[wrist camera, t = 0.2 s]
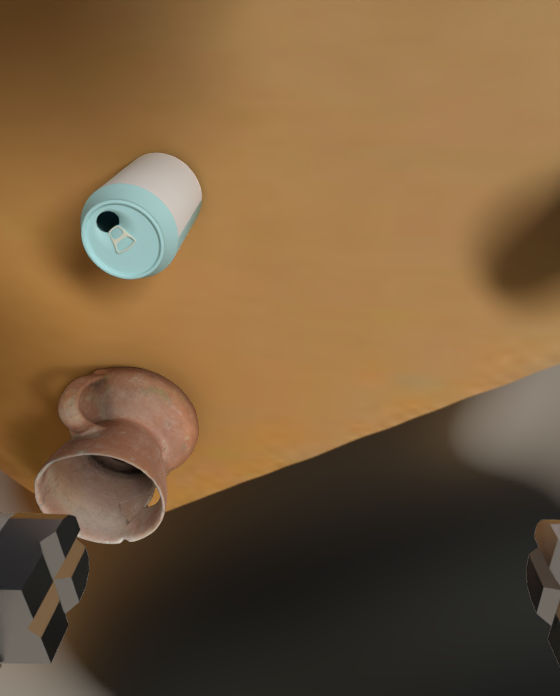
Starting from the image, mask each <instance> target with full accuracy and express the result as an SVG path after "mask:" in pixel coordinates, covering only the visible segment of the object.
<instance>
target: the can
mask: <svg viewBox="0 0 560 696" xmlns="http://www.w3.org/2000/svg"><path fill="white" fill-rule="evenodd" d="M201 205H202V193H201V188H200V185H199V182H198V180H197V178H196V176H195V175H194V173H193V172H192V170H191V169H190V168H189V167H188V166H187V165H186V164H185V163H184V162H182V161H181V160H179V159H177V158H176V157H174V156H171V155H168V154H164V153H149V154H145V155H142V156H140V157H138V158H137V159H135V160H134V161H133V162H131V163H130V164H129V165H128V166H126V167H125V168H124V169H123V170H121V171H120V172H119V173H118V174H116V175H115V176H114V177H113V178H111V179H110V180H109V181H108V182H106V183H105V184H104V185H103V186H101V187H100V188H99V189H98V190H96V191H95V192H94V193H93V194H92V195H91V196H90V197H89V198H88V200H87V201H86V203H85V205H84V207H83V210H82V214H81V222H80V225H81V239H82V243H83V246H84V249H85V251H86V253H87V254H88V256H89V257H90V259H91V260H92V261H93V262H94V263H95V264H96V265H97V266H98V267H99V268H100V269H102V270H103V271H104V272H106V273H108V274H110V275H112V276H115V277H118V278H122V279H138V278H145V277H149V276H152V275H155V274H157V273H159V272H161V271H163V270H164V269H165V268H166V267H167V266H168V265H169V264H170V263H171V262H172V260H173V259H174V257H175V255H176V253H177V252H178V250H179V248H180V246H181V245H182V243H183V241H184V239H185V238H186V236H187V234H188V232H189V230H190V229H191V227H192V225H193V223H194V222H195V220H196V218H197V216H198V214H199V212H200V209H201Z"/></svg>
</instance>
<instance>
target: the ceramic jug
mask: <svg viewBox="0 0 560 696" xmlns="http://www.w3.org/2000/svg"><path fill="white" fill-rule="evenodd" d="M58 413H59V416H60V418H61V420H62V422H63V423H64V424H65V425H66V427H67V428H68V429H69V432H70V435H71V437H72V438H71V439H70V440H69V441H67V442H66V443H65V444H64V445H62V446H61V447H60V448H59V449H58V450H57V451H56V452H55V453H54V454H53V455H52V456H51V457H50V458H49V459H48V460H47V462H46V463H45V464H44V465H43V467H42V468H41V469H40V471H39V473H38V474H37V477H36V479H35V483H34V491H35V498H36V501H37V503H38V505H39V506H40V509H41V510H42V512H43V513H44V514H68V515H73V516H76V519H77V521H78V524H79V527H80V532H79V533H78V535H77V537H80V538H82V539H85V540H89V541H93V542H98V543H105V544H118V543H121V542H122V541H123V540H124V539H126V540H128V541H129V542H133V541H136V540H139V539H142V538H144V537H146V536H148V535H150V534H151V533H152V532H153V531H154V530H156V529H157V527H158V526H159V525H160V523H161V521H162V519H163V517H164V513H165V509H166V503H167V481H166V476H167V475H168V474H169V472H170V471H172V470H174V469H175V468H177V467H179V466H180V465H181V464H182V463H183V462H184V461H186V459H187V458H188V457H189V456H190V454H191V453H192V451H193V450H194V448H195V446H196V443H197V439H198V433H199V426H198V419H197V414H196V411H195V409H194V407H193V405H192V403H191V401H190V400H189V398H188V397H187V396H186V394H185V393H184V392H183V391H182V390H181V389H180V388H179V387H178V386H176V385H175V384H174V383H173V382H171V381H170V380H168V379H167V378H165V377H163V376H161V375H159V374H157V373H154V372H151V371H148V370H144V369H140V368H133V367H116V368H108V369H97V370H95V371H94V372H93V373H92V374H91V375H86V376H81V377H78V378H77V379H75V380H73V381H72V382H71V383H70V384H69V385H68V386H67V387H66V388H65V390H64V392H63V393H62V395H61V397H60V400H59V404H58ZM156 487H157V489H158V491H159V494H160V499H159V501H158V502H157V503H156V504H155V505H153V506H150V507H148V504H149V502H150V501H151V499H152V497H153V494H154V491H155V488H156Z"/></svg>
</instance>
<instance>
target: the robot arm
mask: <svg viewBox="0 0 560 696" xmlns="http://www.w3.org/2000/svg"><path fill="white" fill-rule="evenodd" d="M79 532H80V527H79V524H78V521H77V519H76V516H73V515H68V514H42V513H3V512H0V668H1V666H2V665H1V663H51V662H52V660H53V658H54V656H55V653H56V651H57V649H58V647H59V645H60V642H61V641H62V638H63V636H64V634H65V632H66V630H67V627H68V622H67V618H66V614H65V613H66V612H67V611H69V610H70V609H71V608H72V607H74V606H75V605H76V604H77V603H78V602H79V601H80V599H81V597H82V594H83V592H84V590H85V587H86V583H87V577H88V573H89V558H88V554H87V550H86V547H85V546H84V545H82V544H81V543H80V542H79V541H78V540H76V537H77V535H78V533H79ZM534 538H535V540H536V542H537V544H538V546H539V547H538V548H537V549H536V550H535V551H533V552H532V553H531V554H530V555H529V557H528V562H527V567H526V576H527V587H528V591H529V594H530V598H531V601H532V603H533V606H534V608H535V610H536V613H537V614H538V615H539V616H540V617H542V618H543V619H544V620H545V621H546V622H547V623H549V624H550V625H551V630H550V633H549V636H548V641H549V643H550V646H551V648H552V650H553V652H554V655H555V657H556V659H557V661H558V664H559V666H560V520H541V521H540V522H539V524H538V525H537V526H536V530H535V534H534Z"/></svg>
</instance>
